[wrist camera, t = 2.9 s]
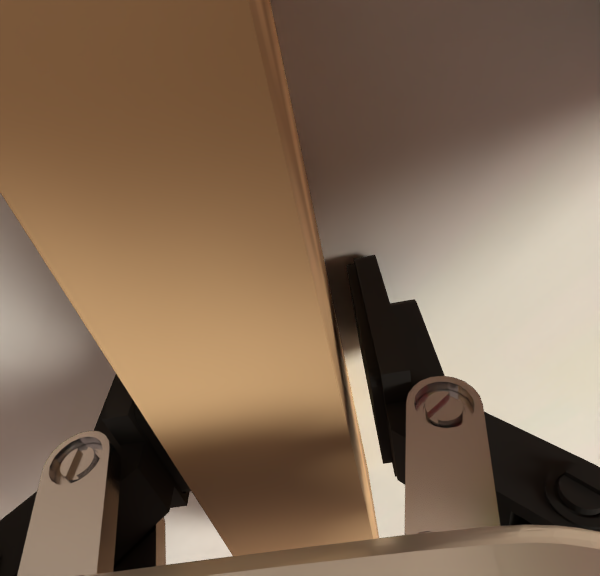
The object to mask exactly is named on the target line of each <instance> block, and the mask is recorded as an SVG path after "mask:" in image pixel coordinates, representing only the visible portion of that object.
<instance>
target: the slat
mask: <svg viewBox="0 0 600 576" xmlns="http://www.w3.org/2000/svg"><path fill="white" fill-rule="evenodd" d="M0 193H1V194H2V196H3V197H4V199H5V200H6V202H7V204H8V205H9V207H10V208H11V210H12V211H13V213H14V215H15V216H16V218H17V219H18V221H19V222H20V224H21V225H22V227H23V229H24V230H25V232H26V233H27V235H28V236H29V238H30V240H31V241H32V243H33V244H34V246H35V247H36V249H37V250H38V252H39V254H40V255H41V257H42V258H43V260H44V261H45V263H46V265H47V266H48V268H49V269H50V271H51V272H52V274H53V275H54V277H55V279H56V280H57V282H58V283H59V285H60V286H61V288H62V290H63V291H64V293H65V294H66V296H67V297H68V299H69V300H70V302H71V304H72V305H73V307H74V308H75V310H76V311H77V313H78V315H79V316H80V318H81V319H82V321H83V322H84V324H85V325H86V327H87V329H88V330H89V332H90V333H91V335H92V336H93V338H94V340H95V341H96V343H97V344H98V346H99V347H100V349H101V350H102V352H103V354H104V355H105V357H106V358H107V360H108V361H109V363H110V365H111V366H112V368H113V369H114V371H115V372H116V374H117V375H118V377H119V379H120V380H121V382H122V383H123V385H124V386H125V388H126V389H127V391H128V393H129V394H130V396H131V397H132V399H133V400H134V402H135V404H136V405H137V407H138V408H139V410H140V411H141V413H142V414H143V416H144V418H145V419H146V421H147V422H148V424H149V425H150V427H151V429H152V430H153V432H154V433H155V435H156V436H157V438H158V439H159V441H160V443H161V444H162V446H163V447H164V449H165V450H166V452H167V454H168V455H169V457H170V458H171V460H172V461H173V463H174V464H175V466H176V468H177V469H178V471H179V472H180V474H181V475H182V477H183V479H184V480H185V482H186V483H187V485H188V486H189V488H190V489H191V491H192V493H193V494H194V496H195V497H196V499H197V500H198V502H199V504H200V505H201V507H202V508H203V510H204V511H205V513H206V514H207V516H208V518H209V519H210V521H211V522H212V524H213V525H214V527H215V529H216V530H217V532H218V533H219V535H220V536H221V538H222V539H223V541H224V543H225V544H226V546H227V547H228V549H229V550H230V552H231V554H232V555H233V556H240V555H248V554H256V553H264V552H272V551H280V550H288V549H296V548H304V547H312V546H320V545H328V544H337V543H345V542H353V541H361V540H369V539H377V538H379V535H378V529H377V523H376V517H375V511H374V505H373V498H372V492H371V486H370V480H369V474H368V468H367V464H366V459H365V454H364V449H363V444H362V440H361V435H360V430H359V425H358V420H357V416H356V411H355V406H354V401H353V396H352V392H351V387H350V382H349V377H348V372H347V368H346V363H345V358H344V353H343V348H342V344H341V339H340V334H339V329H338V325H337V320H336V315H335V310H334V305H333V301H332V296H331V291H330V286H329V281H328V277H327V272H326V267H325V262H324V257H323V253H322V248H321V243H320V238H319V233H318V229H317V224H316V219H315V214H314V209H313V205H312V200H311V195H310V190H309V185H308V181H307V176H306V171H305V166H304V162H303V157H302V152H301V147H300V142H299V138H298V133H297V128H296V123H295V118H294V114H293V109H292V104H291V99H290V94H289V90H288V85H287V80H286V75H285V70H284V66H283V61H282V56H281V51H280V46H279V42H278V37H277V32H276V27H275V22H274V18H273V13H272V8H271V3H270V0H0Z"/></svg>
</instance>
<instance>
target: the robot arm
mask: <svg viewBox="0 0 600 576" xmlns="http://www.w3.org/2000/svg"><path fill="white" fill-rule="evenodd" d="M347 271H348V277H349V283H350V289H351V295H352V301H353V307H354V313H355V319H356V325H357V331H358V337H359V343H360V348H361V353H362V359H363V364H364V369H365V374H366V379H367V384H368V389H369V394H370V399H371V404H372V409H373V415H374V420H375V425H376V430H377V435H378V440H379V445H380V450H381V455H382V460H383V464H384V463H391V462H392V464H393V469H394V473H395V476H397V479H398V480H399V481H400V482H402V483H403V484H405V535H402V536H394V537H386V538H377V539H369V540H361V541H353V542H345V543H337V544H328V545H320V546H312V547H304V548H296V549H288V550H280V551H272V552H264V553H256V554H248V555H240V556H232V557H224V558H217V559H209V560H201V561H193V562H185V563H178V564H170V565H166V550H165V519H164V516H165V515H166V514H167V513H168V512H169V510H170V508H173V507H180V506H187V503H188V497H189V491H191V489H190V488H189V486H188V485H187V483H186V482H185V480H184V479H183V477H182V475H181V474H180V472H179V471H178V469H177V468H176V466H175V464H174V463H173V461H172V460H171V458H170V457H169V455H168V454H167V452H166V450H165V449H164V447H163V446H162V444H161V443H160V441H159V439H158V438H157V436H156V435H155V433H154V432H153V430H152V429H151V427H150V425H149V424H148V422H147V421H146V419H145V418H144V416H143V414H142V413H141V411H140V410H139V408H138V407H137V405H136V404H135V402H134V400H133V399H132V397H131V396H130V394H129V393H128V391H127V389H126V388H125V386H124V385H123V383H122V382H121V380H120V379H119V377H118V375H117V374H116V375H115V378H114V380H113V383H112V386H111V388H110V391H109V393H108V396H107V398H106V401H105V403H104V406H103V409H102V411H101V414H100V416H99V419H98V421H97V424H96V427H95V429H94V431H87V432H82V433H79V434H77V435H74V436H72V437H70V438H69V439H67V440H66V441H64V442H63V443H61V444H60V445H59V446H58V447H57V448H56V449H55V450H54V451H53V452H52V453H51V455H50V456H49V458H48V459H47V461H46V462H45V465H44V467H43V470H42V473H41V477H40V482H39V486H38V490H37V492H35V493H34V494H33V495H32V496H30V497H29V498H28V499H27V500H25V501H24V502H23V503H22V504H20V505H19V506H18V507H17V508H15V509H14V510H13V511H12V512H10V513H9V514H8V515H7V516H5V517H4V518H3V519H2V520H0V576H600V467H598V466H596V465H595V464H592V463H590V462H588V461H586V460H584V459H582V458H580V457H578V456H576V455H574V454H572V453H569V452H567V451H565V450H563V449H561V448H559V447H557V446H555V445H553V444H551V443H549V442H546V441H544V440H542V439H540V438H538V437H536V436H534V435H532V434H530V433H528V432H526V431H523V430H521V429H519V428H517V427H515V426H513V425H511V424H509V423H507V422H505V421H503V420H500V419H498V418H496V417H494V416H492V415H490V414H488V413H486V412H484V409H483V403H482V401H481V398H480V395H479V394H478V393H477V392H476V390H475V389H474V388H473V387H472V386H470V385H469V384H467V383H466V382H465V381H462V380H460V379H457V378H454V377H448V376H444V373H443V371H442V368H441V365H440V363H439V360H438V357H437V355H436V352H435V350H434V347H433V344H432V342H431V339H430V336H429V334H428V331H427V329H426V326H425V323H424V321H423V318H422V315H421V313H420V310H419V308H418V305H417V303H416V301H415V300H414V299H413V300H408V301H402V302H396V303H390V302H389V299H388V296H387V292H386V289H385V286H384V282H383V279H382V276H381V273H380V269H379V266H378V263H377V259H376V256H375V255H372V256H366V257H361V258H355V259H354V264H353V265H348V266H347Z"/></svg>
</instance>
